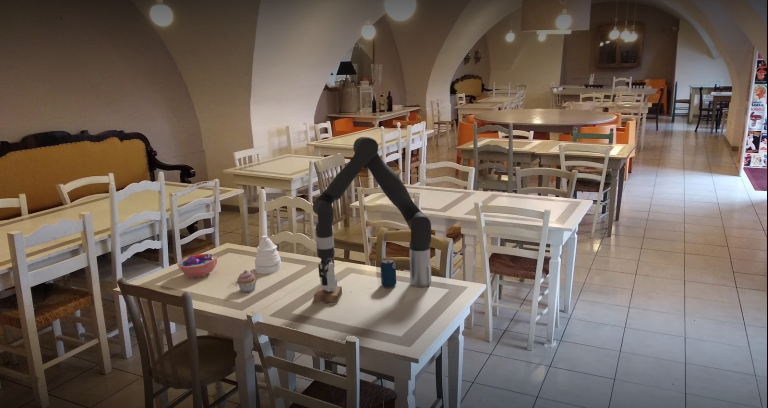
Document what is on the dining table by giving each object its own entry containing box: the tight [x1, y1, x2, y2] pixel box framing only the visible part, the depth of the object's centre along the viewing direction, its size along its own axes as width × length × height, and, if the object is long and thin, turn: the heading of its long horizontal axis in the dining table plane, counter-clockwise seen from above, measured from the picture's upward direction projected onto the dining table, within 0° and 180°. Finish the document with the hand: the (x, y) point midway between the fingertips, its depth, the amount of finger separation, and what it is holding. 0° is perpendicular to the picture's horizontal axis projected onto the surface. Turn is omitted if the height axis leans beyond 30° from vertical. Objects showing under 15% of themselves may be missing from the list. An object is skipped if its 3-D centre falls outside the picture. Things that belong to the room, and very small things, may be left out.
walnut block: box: [313, 285, 343, 304], centre depth 243 cm, size 10×10×4 cm
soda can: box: [380, 258, 397, 289], centre depth 254 cm, size 7×7×12 cm
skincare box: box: [318, 261, 336, 292], centre depth 241 cm, size 6×4×12 cm
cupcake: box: [236, 269, 258, 294], centre depth 254 cm, size 9×9×10 cm
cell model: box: [176, 253, 218, 279], centre depth 275 cm, size 17×20×11 cm
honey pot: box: [254, 235, 282, 275], centre depth 279 cm, size 13×13×18 cm
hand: (327, 281), depth 242 cm, fingers closed on skincare box, 7 cm apart
